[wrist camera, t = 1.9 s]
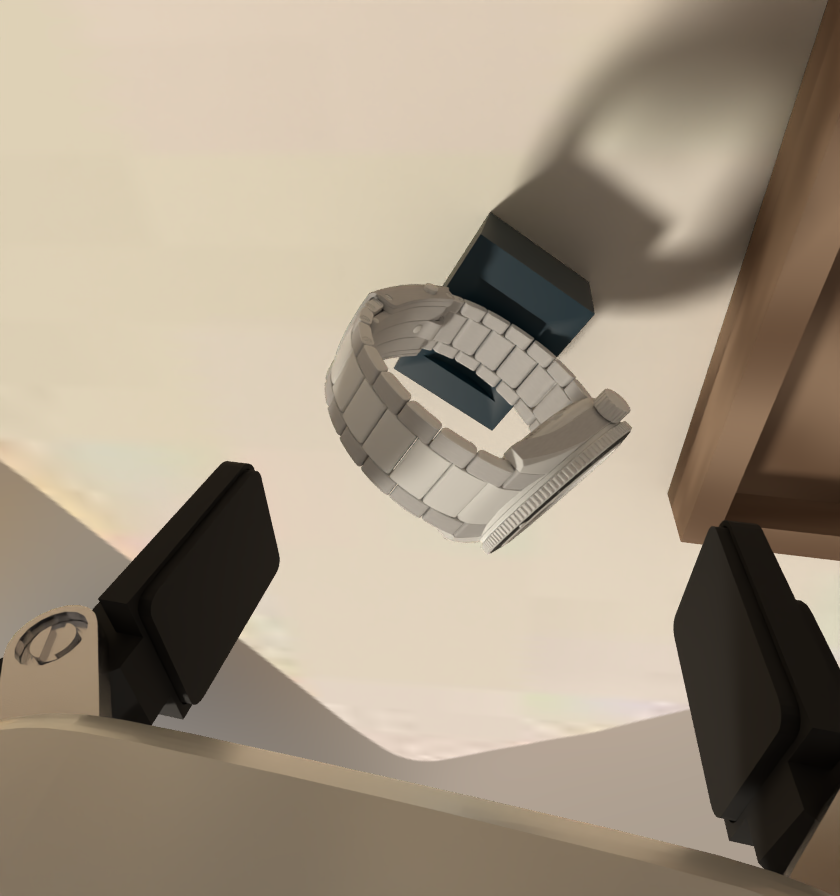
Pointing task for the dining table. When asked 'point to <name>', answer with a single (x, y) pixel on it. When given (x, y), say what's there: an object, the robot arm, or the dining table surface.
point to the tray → (779, 348)
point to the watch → (475, 389)
